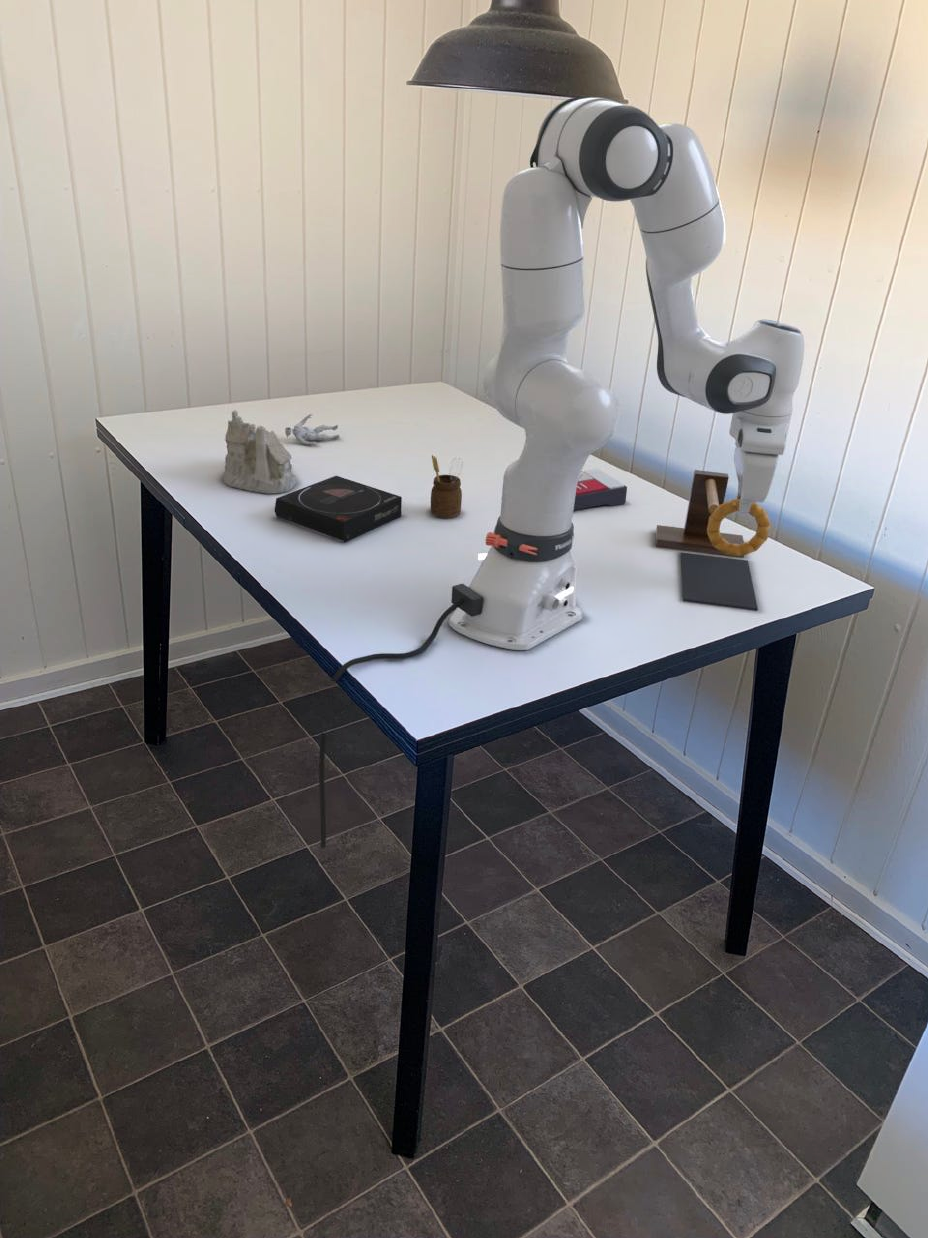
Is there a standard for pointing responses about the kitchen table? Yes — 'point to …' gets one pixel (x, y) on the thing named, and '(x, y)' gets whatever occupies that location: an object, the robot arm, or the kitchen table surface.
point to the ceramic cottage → (256, 459)
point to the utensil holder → (446, 494)
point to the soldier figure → (310, 432)
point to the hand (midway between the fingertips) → (742, 507)
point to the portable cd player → (338, 508)
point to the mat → (717, 581)
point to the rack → (699, 516)
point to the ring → (745, 547)
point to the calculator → (598, 490)
